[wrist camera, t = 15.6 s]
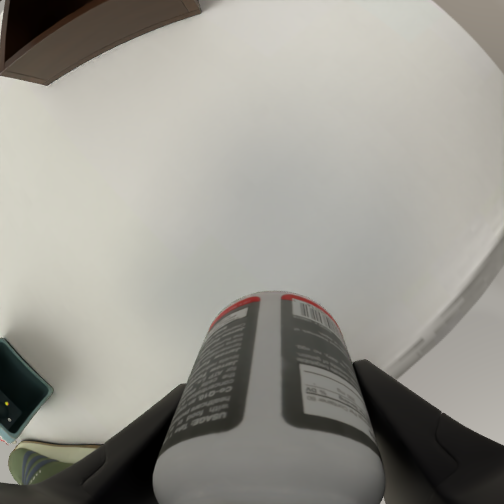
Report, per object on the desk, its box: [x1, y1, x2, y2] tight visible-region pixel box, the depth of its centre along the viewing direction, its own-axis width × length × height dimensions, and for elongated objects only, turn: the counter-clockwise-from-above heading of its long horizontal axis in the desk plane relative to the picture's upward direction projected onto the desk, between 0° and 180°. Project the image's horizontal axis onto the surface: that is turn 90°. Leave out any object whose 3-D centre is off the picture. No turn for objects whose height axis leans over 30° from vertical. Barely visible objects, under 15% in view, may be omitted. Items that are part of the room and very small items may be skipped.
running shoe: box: [8, 441, 100, 485], centre depth 24 cm, size 13×36×16 cm, turn 123°
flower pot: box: [0, 338, 53, 443], centre depth 22 cm, size 9×9×9 cm
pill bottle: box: [153, 291, 386, 504], centre depth 6 cm, size 5×5×8 cm
